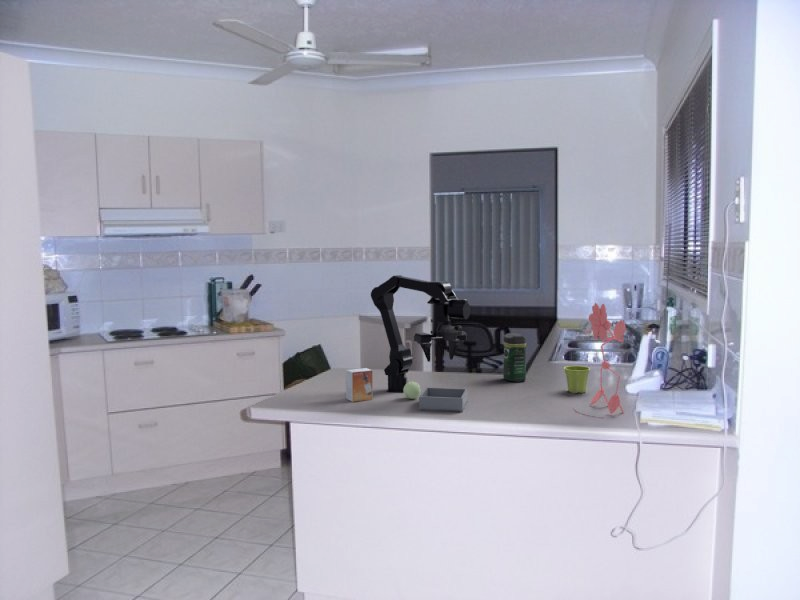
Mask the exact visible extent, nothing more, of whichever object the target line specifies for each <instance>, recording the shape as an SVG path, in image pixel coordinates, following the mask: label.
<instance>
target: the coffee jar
mask: <svg viewBox="0 0 800 600" xmlns="http://www.w3.org/2000/svg"><path fill="white" fill-rule="evenodd" d="M502 344H503V371H502V372H503V374H502V375H503V377H502V378H503V379H504V380H505V381H509V382H515V383H520V382H524V381H526V379H527V376H526V375H527V365H526V363H527V360H526V359H527V358H526V355H527V353H526V352H527V351H526V349H527V337H526V336H524V335H523V334H519V333H517V332H510V333H509V332H508V333H505V334H504V336H503V343H502Z"/></svg>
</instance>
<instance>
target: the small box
mask: <svg viewBox="0 0 800 600" xmlns="http://www.w3.org/2000/svg"><path fill="white" fill-rule="evenodd" d="M373 377H374V375H373V369H369V368H367V367H364V368H355V369H345V386H346V387H345V398H346V400H348V401H350V402H352V403H353V402H362V401H372V400H373V399H374V398H373V397H374V396H373V394H374V393H373V392H374V390H373V388H374V387H373V386H374V385H373V383H374V382H373Z"/></svg>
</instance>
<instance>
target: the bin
mask: <svg viewBox="0 0 800 600" xmlns="http://www.w3.org/2000/svg"><path fill="white" fill-rule="evenodd" d="M418 400H419V401H418V408H419V409H418V411H425V410H429V411H430V412H448V411H452V412H453V413H454V412H456V413H463V412H464V410H465V408H466V406H465V405H467V404H466V403H468V388H453V387H428V386H426V387H425V388H424V390H423V391H421V393H420V394H419V396H418ZM429 411H428V412H429Z"/></svg>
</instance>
